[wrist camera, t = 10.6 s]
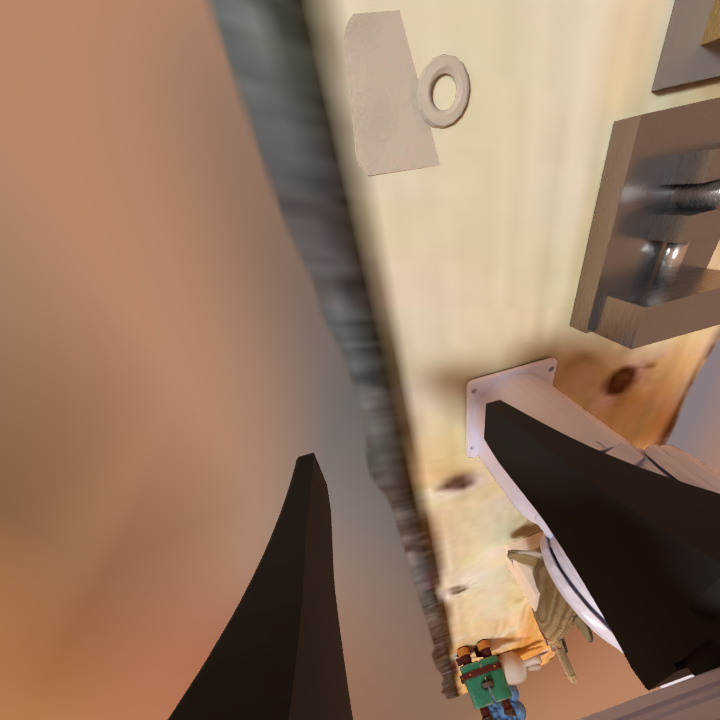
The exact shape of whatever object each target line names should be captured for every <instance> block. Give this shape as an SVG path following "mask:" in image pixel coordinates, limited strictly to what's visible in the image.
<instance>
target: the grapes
mask: <svg viewBox="0 0 720 720" xmlns="http://www.w3.org/2000/svg"><path fill="white" fill-rule="evenodd" d="M488 688H489V687H488ZM509 688H510V691H511V694H512V697H511V698H509V701H510V703H511V706H512V708H514V710H515V712H516V715H517V716H508V715H505V714H504V708H503V705H502V703H501V701H500V702H497V703H496V702H495V700H494V698H493V695H492V693H491V691H490V688H489V691H490V694H491V697H492V700H493V704H491V705H489V706H488V709H489V712H490V714H491V715H492V717H493V720H525V718H526V710H525V707H524V705H523V704H522V703H521V702H520V701H519V702H518V699H519V692H518V689H517V687H516V686H515V685H509Z"/></svg>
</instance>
